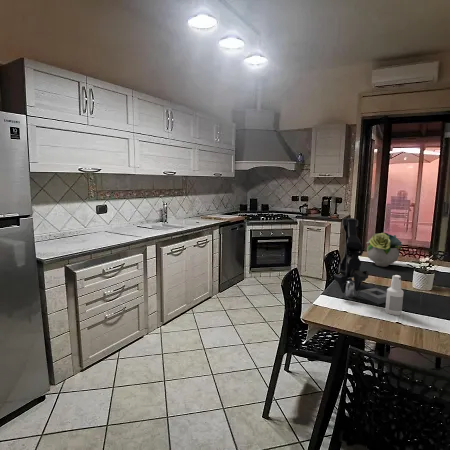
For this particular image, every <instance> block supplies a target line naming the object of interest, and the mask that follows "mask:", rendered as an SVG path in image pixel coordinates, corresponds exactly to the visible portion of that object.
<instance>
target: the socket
mask: <svg viewBox="0 0 450 450" xmlns="http://www.w3.org/2000/svg"><path fill="white" fill-rule="evenodd" d="M358 295H359V297H361V298H363V299H365V300H367V301H371V302H373V303H375V304H377V305H380V304H384V303H385V304H386V297H387V290H383V289H379V288H377V287H372V288H367V289H362V290H359V294H358Z"/></svg>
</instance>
